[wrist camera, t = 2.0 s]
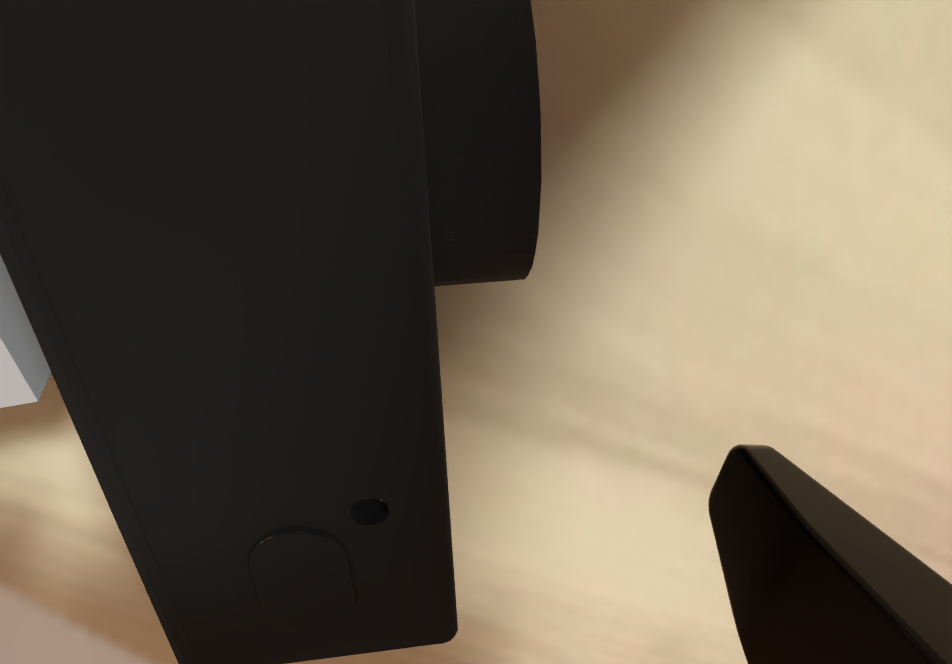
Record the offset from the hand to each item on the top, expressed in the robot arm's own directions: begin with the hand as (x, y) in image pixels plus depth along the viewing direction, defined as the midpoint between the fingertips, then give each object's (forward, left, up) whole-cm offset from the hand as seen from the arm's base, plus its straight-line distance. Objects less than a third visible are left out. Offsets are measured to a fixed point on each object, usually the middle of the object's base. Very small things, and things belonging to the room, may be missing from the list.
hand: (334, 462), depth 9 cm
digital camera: (0, 0, -8) cm, 8 cm away
